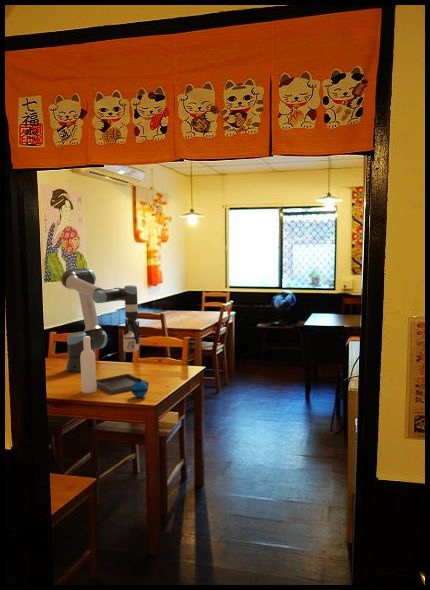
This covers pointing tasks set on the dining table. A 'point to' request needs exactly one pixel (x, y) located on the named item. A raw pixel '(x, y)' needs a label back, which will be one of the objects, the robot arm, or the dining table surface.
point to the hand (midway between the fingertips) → (132, 347)
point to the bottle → (88, 367)
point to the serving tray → (118, 383)
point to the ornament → (139, 388)
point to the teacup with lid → (129, 342)
